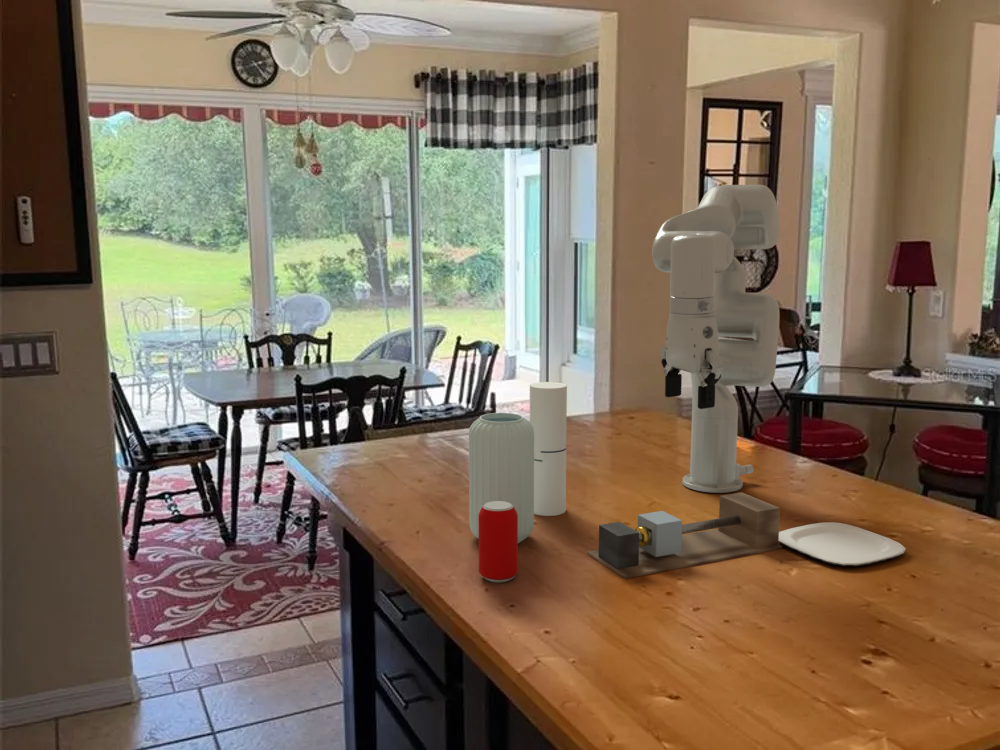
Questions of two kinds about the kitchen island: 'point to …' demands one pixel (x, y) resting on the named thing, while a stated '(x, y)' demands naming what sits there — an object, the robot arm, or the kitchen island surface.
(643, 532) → the metal rod
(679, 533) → the grey sliding block
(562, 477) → the cylindrical container
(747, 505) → the slide base
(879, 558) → the plate
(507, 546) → the beverage can
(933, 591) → the kitchen island surface
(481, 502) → the vase
